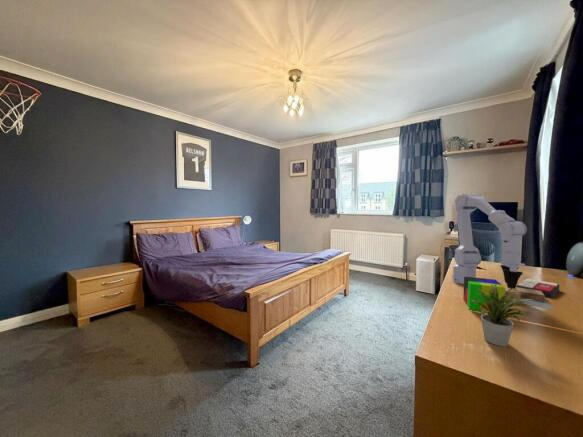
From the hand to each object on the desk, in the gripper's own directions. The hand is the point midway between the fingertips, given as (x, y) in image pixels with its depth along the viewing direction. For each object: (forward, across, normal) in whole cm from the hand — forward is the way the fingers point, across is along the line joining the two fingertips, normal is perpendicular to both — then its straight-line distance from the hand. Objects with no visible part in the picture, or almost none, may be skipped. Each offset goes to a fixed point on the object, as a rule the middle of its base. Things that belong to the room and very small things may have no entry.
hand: (509, 285), depth 97 cm
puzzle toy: (+7, -14, +9) cm, 18 cm away
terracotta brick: (+6, 0, 0) cm, 6 cm away
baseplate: (+6, +5, -2) cm, 8 cm away
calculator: (+7, +22, -12) cm, 26 cm away
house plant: (+7, -42, +7) cm, 43 cm away
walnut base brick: (+6, +9, -7) cm, 13 cm away
